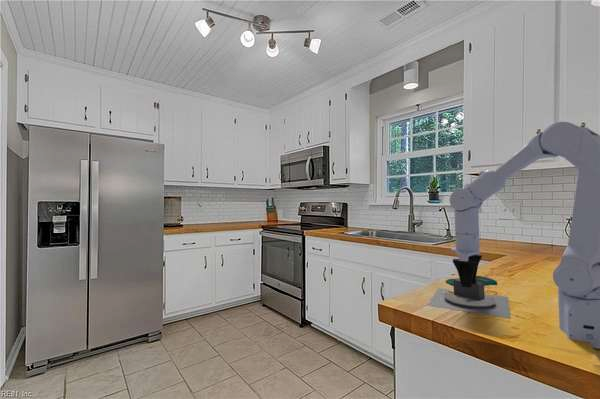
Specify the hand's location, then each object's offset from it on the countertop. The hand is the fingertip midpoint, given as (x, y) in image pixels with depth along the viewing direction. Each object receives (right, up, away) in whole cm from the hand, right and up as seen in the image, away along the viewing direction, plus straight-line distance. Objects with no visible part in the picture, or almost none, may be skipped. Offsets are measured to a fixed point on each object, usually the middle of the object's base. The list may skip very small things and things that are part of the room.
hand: (468, 283), depth 81 cm
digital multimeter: (+11, -7, +17) cm, 21 cm away
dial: (0, -5, 0) cm, 5 cm away
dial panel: (0, -6, 0) cm, 6 cm away
